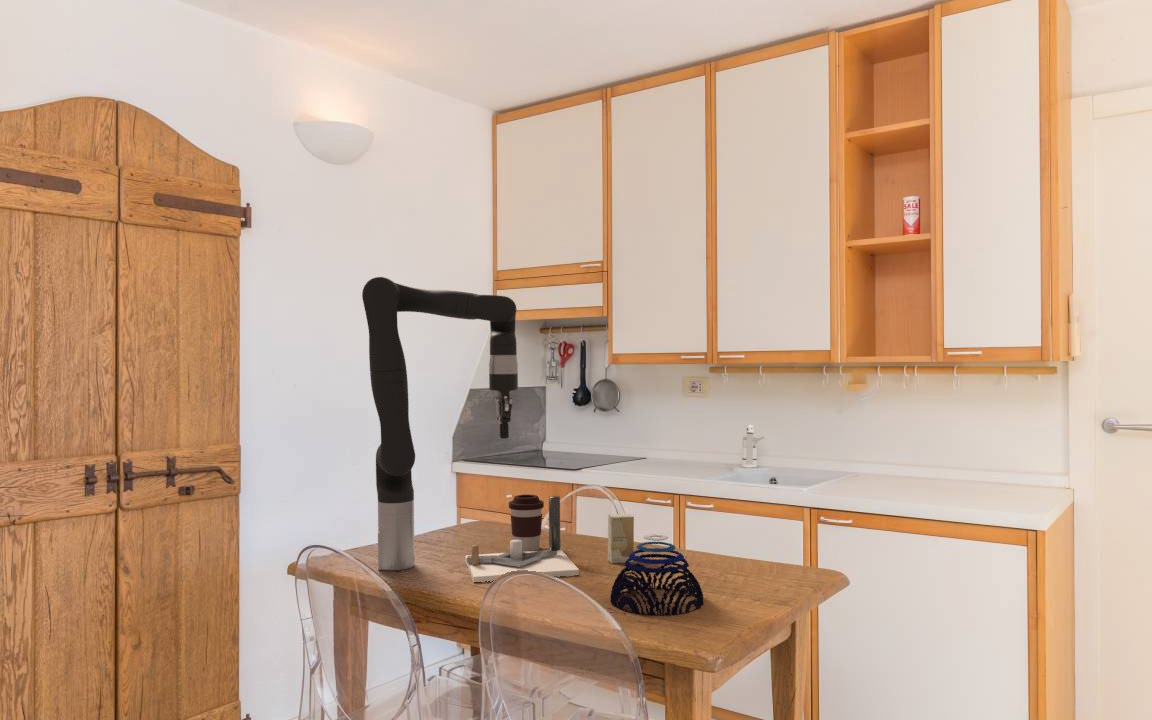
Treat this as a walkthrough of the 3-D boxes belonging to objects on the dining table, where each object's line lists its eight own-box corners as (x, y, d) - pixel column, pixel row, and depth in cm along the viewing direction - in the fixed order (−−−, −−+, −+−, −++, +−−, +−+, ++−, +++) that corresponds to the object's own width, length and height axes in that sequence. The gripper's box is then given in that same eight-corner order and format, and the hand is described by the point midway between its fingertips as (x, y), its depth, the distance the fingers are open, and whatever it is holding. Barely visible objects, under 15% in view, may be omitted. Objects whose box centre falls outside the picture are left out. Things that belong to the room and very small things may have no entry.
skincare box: (611, 564, 210) (610, 517, 210) (607, 560, 214) (606, 514, 214) (634, 562, 211) (634, 516, 211) (630, 558, 215) (630, 513, 215)
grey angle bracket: (517, 570, 196) (516, 508, 196) (462, 562, 205) (462, 502, 205) (562, 553, 213) (562, 496, 213) (510, 546, 223) (510, 491, 223)
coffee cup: (528, 555, 220) (528, 500, 220) (501, 550, 226) (501, 497, 226) (551, 548, 228) (550, 495, 228) (524, 543, 234) (524, 492, 234)
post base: (473, 583, 193) (473, 553, 193) (465, 561, 214) (465, 534, 214) (578, 575, 198) (578, 547, 198) (560, 554, 220) (560, 529, 220)
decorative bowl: (591, 602, 177) (591, 537, 177) (650, 584, 191) (650, 523, 191) (662, 623, 162) (661, 552, 162) (720, 601, 176) (719, 536, 176)
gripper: (521, 372, 206) (522, 440, 206) (513, 372, 219) (514, 435, 219) (492, 373, 204) (492, 441, 204) (486, 372, 217) (487, 436, 217)
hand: (504, 438), depth 212 cm, fingers closed
